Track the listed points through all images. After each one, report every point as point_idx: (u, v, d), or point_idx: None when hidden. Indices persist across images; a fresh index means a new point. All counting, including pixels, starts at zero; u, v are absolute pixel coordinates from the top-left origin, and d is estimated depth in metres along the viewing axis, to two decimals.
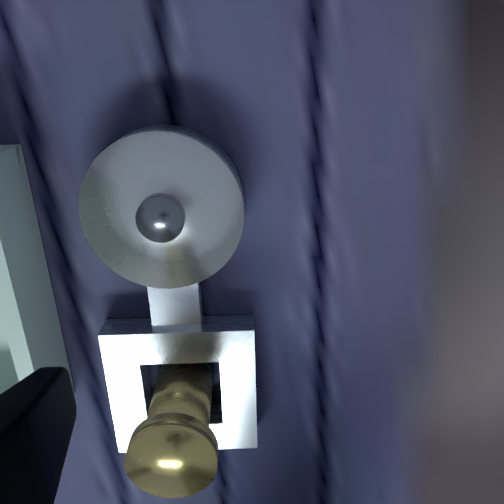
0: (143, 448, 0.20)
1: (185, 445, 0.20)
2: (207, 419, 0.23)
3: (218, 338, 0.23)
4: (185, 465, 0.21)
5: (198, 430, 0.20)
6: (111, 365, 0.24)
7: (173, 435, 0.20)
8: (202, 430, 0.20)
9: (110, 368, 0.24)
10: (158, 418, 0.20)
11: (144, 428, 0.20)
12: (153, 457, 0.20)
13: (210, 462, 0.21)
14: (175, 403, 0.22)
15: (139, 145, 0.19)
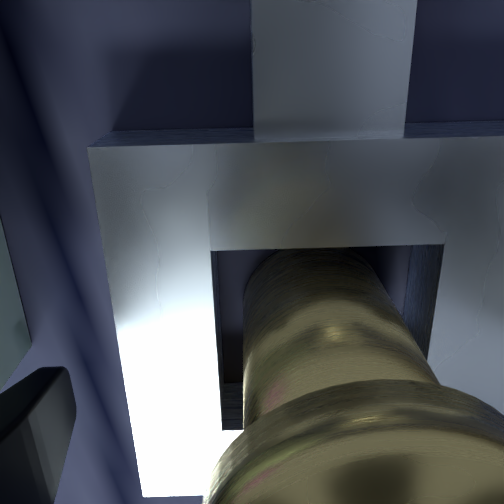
0: None
1: None
2: None
3: (458, 162, 0.08)
4: None
5: None
6: (127, 252, 0.08)
7: (440, 482, 0.04)
8: None
9: (124, 262, 0.08)
10: (346, 404, 0.05)
11: (287, 447, 0.05)
12: None
13: None
14: (359, 353, 0.06)
15: None
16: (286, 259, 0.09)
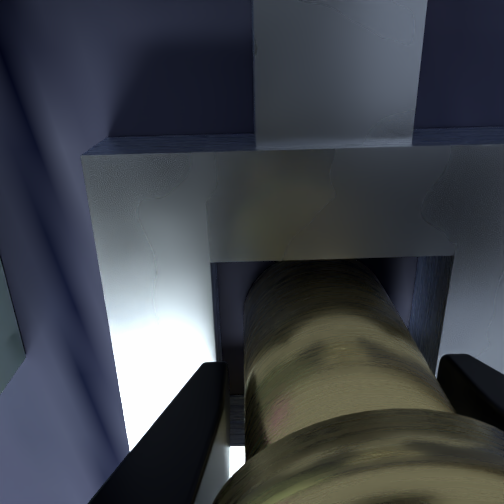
0: None
1: None
2: None
3: (469, 170, 0.07)
4: None
5: None
6: (123, 264, 0.08)
7: None
8: None
9: (120, 274, 0.08)
10: (356, 437, 0.04)
11: (294, 484, 0.04)
12: None
13: None
14: (368, 375, 0.06)
15: None
16: (288, 269, 0.09)
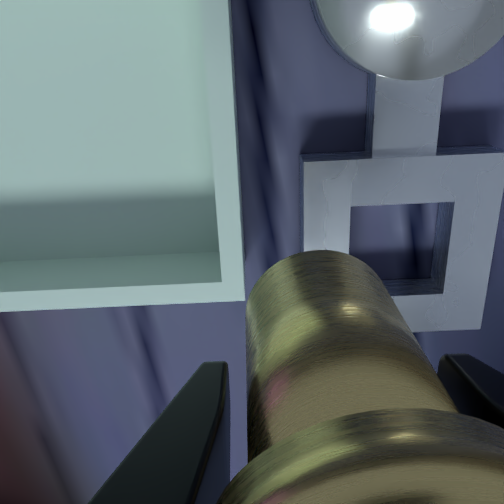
0: None
1: None
2: None
3: (460, 165, 0.18)
4: None
5: None
6: (314, 207, 0.18)
7: None
8: None
9: (312, 212, 0.18)
10: (360, 437, 0.04)
11: (298, 484, 0.04)
12: None
13: None
14: (371, 374, 0.06)
15: None
16: (291, 269, 0.09)
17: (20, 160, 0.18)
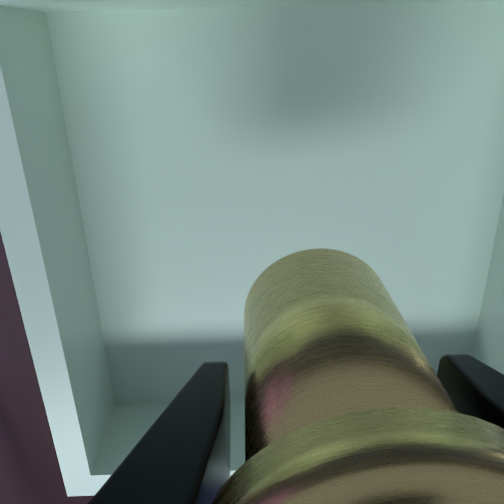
0: None
1: None
2: None
3: None
4: None
5: None
6: None
7: None
8: None
9: None
10: (357, 437, 0.04)
11: (294, 484, 0.04)
12: None
13: None
14: (369, 373, 0.06)
15: None
16: (289, 268, 0.09)
17: (239, 293, 0.15)
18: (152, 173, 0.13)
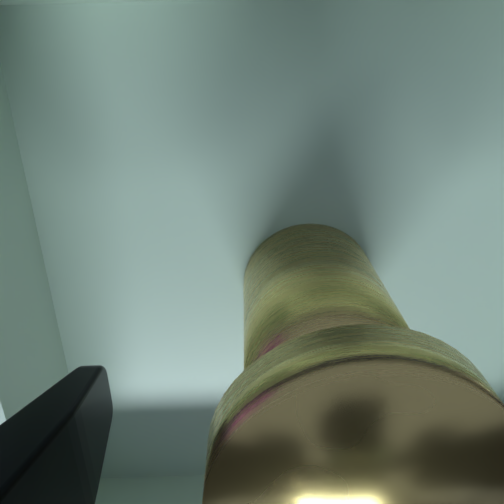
0: (280, 451, 0.05)
1: (442, 440, 0.05)
2: None
3: None
4: None
5: (482, 384, 0.05)
6: None
7: (406, 400, 0.05)
8: (487, 386, 0.06)
9: None
10: (330, 342, 0.06)
11: (281, 376, 0.05)
12: (311, 485, 0.06)
13: None
14: (345, 311, 0.07)
15: None
16: (283, 239, 0.10)
17: (240, 351, 0.12)
18: (131, 209, 0.10)
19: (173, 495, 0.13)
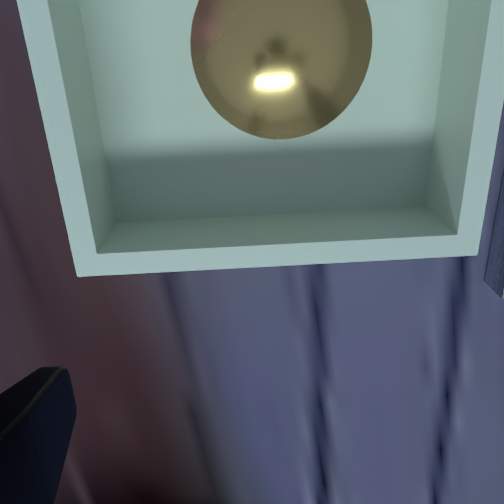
0: None
1: None
2: None
3: None
4: (310, 48, 0.10)
5: None
6: None
7: None
8: None
9: None
10: None
11: None
12: (248, 26, 0.10)
13: (359, 39, 0.10)
14: None
15: None
16: None
17: None
18: None
19: (177, 225, 0.18)
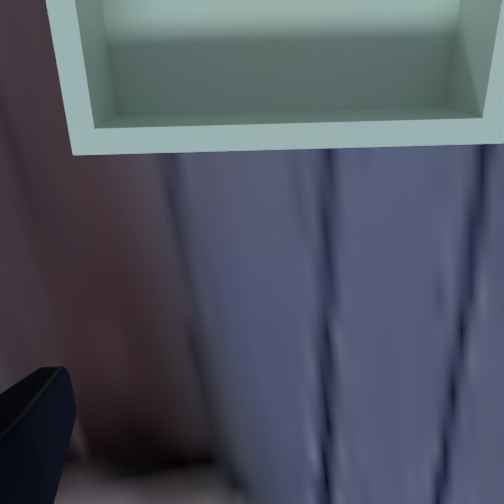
0: None
1: None
2: None
3: None
4: None
5: None
6: None
7: None
8: None
9: None
10: None
11: None
12: None
13: None
14: None
15: None
16: None
17: None
18: None
19: (181, 116, 0.17)
